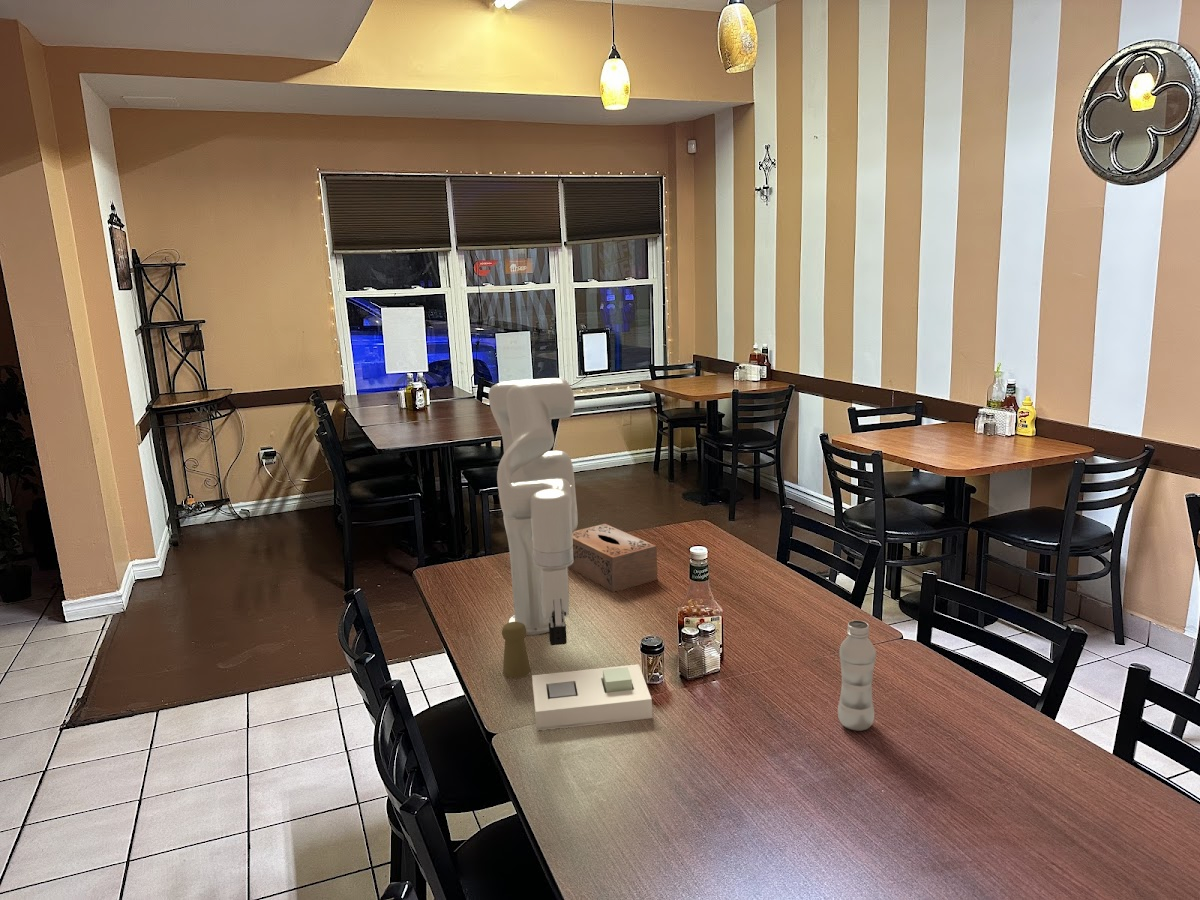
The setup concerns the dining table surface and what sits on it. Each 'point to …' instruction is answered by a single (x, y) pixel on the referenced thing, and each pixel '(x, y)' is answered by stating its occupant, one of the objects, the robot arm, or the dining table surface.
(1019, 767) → the dining table surface
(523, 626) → the brown pawn
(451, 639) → the dining table surface
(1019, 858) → the dining table surface
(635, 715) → the key panel
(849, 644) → the plastic bottle
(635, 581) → the tissue box cover
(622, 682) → the sage key
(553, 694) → the charcoal key
